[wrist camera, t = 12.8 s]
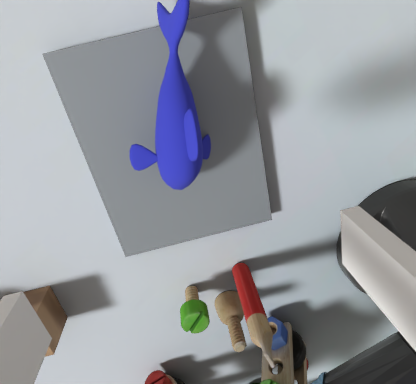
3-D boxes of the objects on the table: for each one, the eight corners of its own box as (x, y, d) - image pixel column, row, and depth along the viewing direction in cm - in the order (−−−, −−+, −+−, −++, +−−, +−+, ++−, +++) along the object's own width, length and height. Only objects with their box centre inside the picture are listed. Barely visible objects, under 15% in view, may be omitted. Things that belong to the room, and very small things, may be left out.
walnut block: (49, 285, 34) (32, 320, 30) (67, 316, 37) (53, 354, 32) (5, 296, 34) (-19, 332, 30) (25, 327, 36) (6, 366, 32)
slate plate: (238, 8, 26) (241, 6, 24) (268, 214, 34) (272, 219, 33) (47, 53, 25) (42, 53, 24) (126, 250, 34) (125, 256, 33)
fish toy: (204, 172, 31) (240, 199, 26) (129, 186, 28) (152, 220, 23) (202, -1, 25) (250, -15, 19) (106, -8, 22) (130, -26, 16)
